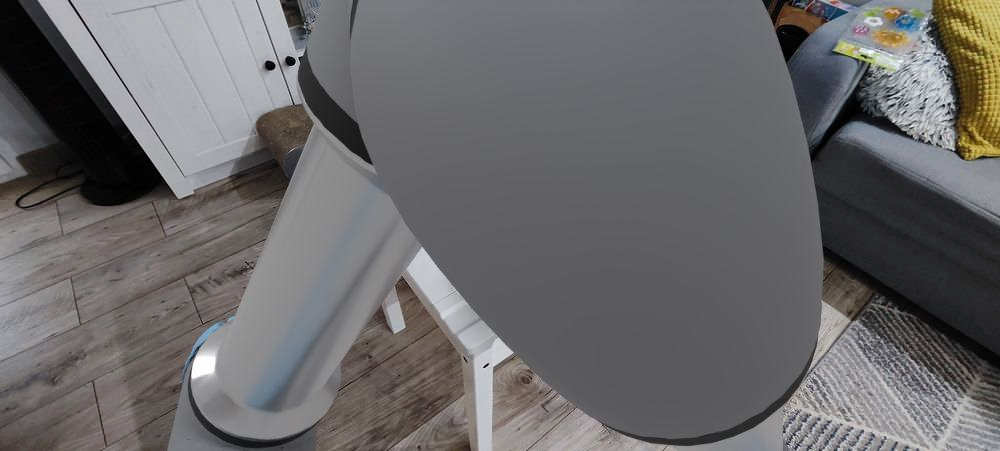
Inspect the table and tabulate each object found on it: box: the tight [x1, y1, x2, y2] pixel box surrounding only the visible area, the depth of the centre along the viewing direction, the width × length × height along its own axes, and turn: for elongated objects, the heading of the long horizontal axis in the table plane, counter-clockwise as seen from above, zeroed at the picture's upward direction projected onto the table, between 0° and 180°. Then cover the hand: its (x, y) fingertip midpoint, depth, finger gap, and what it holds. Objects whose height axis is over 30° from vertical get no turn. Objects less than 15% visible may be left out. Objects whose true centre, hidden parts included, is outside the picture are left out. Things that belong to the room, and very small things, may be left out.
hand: (472, 215), depth 71 cm, fingers open, 9 cm apart
